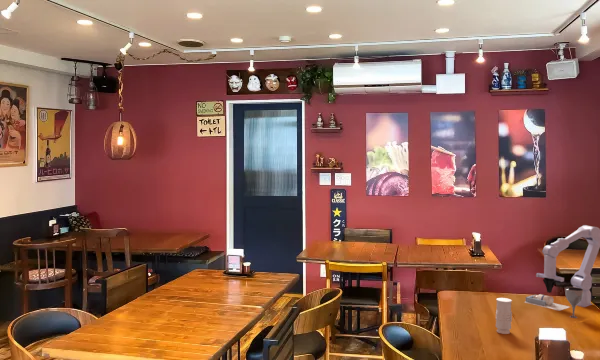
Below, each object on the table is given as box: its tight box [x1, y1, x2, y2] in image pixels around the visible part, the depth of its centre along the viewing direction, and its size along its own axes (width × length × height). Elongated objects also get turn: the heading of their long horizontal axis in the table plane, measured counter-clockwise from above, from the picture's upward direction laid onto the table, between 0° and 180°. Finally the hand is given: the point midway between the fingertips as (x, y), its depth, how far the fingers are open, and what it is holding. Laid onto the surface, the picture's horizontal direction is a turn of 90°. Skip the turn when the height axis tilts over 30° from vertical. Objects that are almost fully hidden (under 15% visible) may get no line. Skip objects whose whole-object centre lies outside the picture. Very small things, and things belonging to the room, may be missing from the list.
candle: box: [495, 297, 513, 335], centre depth 240 cm, size 7×7×15 cm
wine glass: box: [564, 286, 583, 319], centre depth 261 cm, size 8×8×15 cm
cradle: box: [524, 294, 570, 312], centre depth 284 cm, size 12×20×3 cm, turn 37°
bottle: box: [533, 293, 554, 305], centre depth 286 cm, size 5×5×10 cm
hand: (549, 292), depth 282 cm, fingers closed
